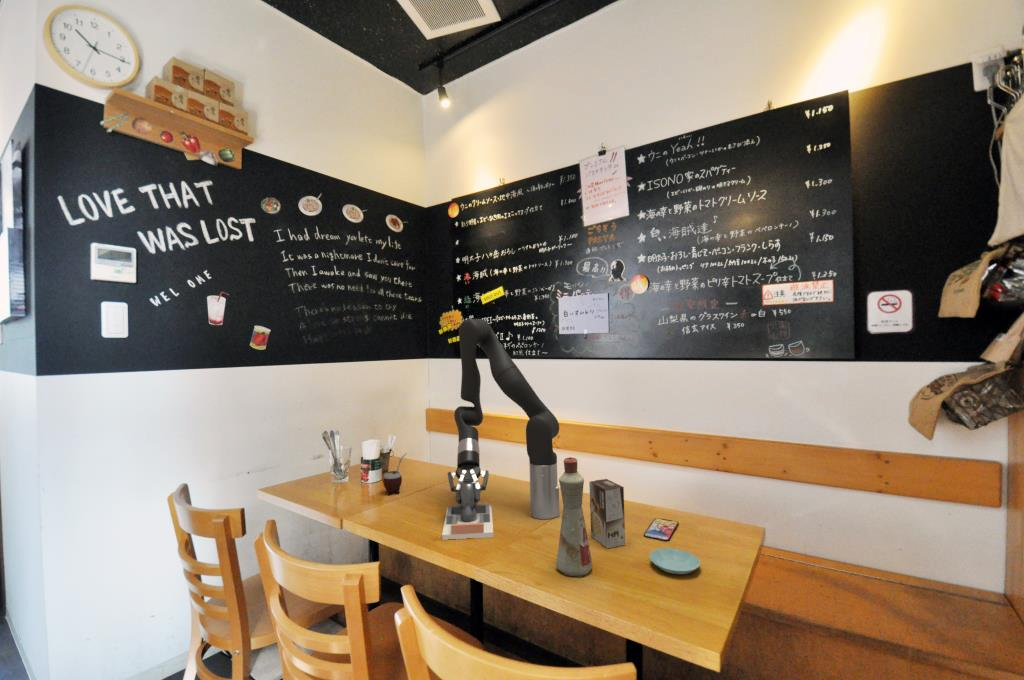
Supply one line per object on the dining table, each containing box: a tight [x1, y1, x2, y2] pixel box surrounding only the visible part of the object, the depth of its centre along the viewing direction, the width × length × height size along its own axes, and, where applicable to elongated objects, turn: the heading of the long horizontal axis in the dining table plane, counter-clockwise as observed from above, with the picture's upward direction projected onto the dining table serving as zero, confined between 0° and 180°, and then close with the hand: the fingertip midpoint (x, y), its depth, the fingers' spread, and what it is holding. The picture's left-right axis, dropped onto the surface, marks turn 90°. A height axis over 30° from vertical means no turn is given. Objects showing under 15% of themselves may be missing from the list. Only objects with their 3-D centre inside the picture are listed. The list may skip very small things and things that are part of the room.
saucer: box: [649, 547, 701, 576], centre depth 110 cm, size 12×12×2 cm
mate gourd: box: [382, 452, 407, 496], centre depth 173 cm, size 8×8×15 cm
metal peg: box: [459, 481, 477, 521], centre depth 140 cm, size 5×5×11 cm
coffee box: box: [588, 478, 626, 549], centre depth 126 cm, size 9×6×16 cm
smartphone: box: [643, 517, 680, 543], centre depth 133 cm, size 7×1×15 cm
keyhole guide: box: [441, 503, 494, 541], centre depth 140 cm, size 15×22×4 cm
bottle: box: [555, 456, 593, 577], centre depth 111 cm, size 9×9×28 cm
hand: (468, 502), depth 139 cm, fingers closed on metal peg, 5 cm apart
